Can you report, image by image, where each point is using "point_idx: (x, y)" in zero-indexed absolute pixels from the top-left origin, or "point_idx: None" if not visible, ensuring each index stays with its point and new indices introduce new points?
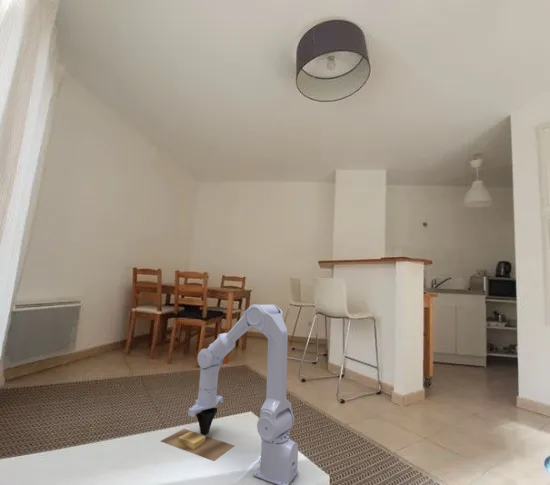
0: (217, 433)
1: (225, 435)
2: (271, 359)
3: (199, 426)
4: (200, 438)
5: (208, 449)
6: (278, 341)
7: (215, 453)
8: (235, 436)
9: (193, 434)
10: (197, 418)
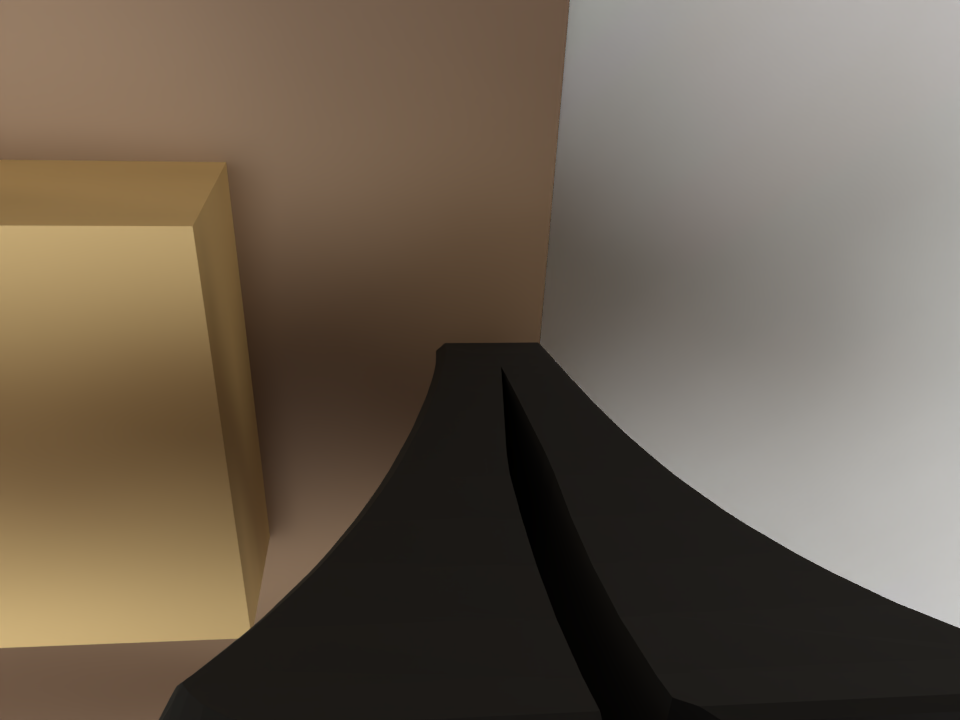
0: (904, 314)
1: (872, 458)
2: None
3: (419, 416)
4: (107, 622)
5: (164, 666)
6: None
7: None
8: (888, 578)
9: (124, 412)
10: (325, 559)
